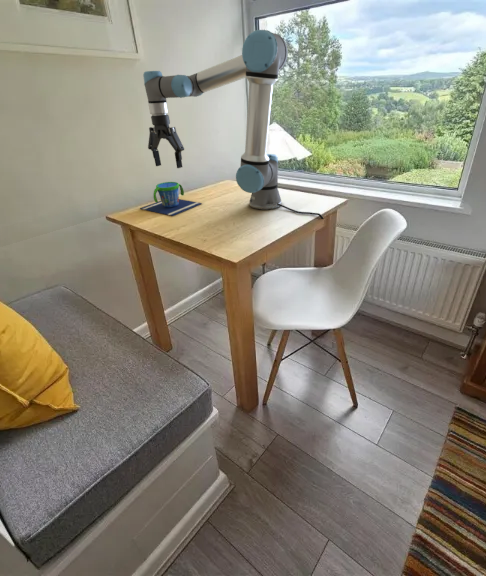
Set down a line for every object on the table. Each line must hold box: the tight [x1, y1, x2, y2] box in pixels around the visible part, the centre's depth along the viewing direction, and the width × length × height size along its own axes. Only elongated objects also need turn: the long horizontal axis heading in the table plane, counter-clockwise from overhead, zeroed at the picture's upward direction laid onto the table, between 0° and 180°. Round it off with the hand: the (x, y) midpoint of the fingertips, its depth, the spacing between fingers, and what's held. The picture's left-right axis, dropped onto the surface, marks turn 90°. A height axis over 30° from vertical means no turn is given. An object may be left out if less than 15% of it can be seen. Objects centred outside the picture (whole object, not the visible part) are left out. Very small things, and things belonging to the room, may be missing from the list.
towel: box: [139, 198, 203, 217], centre depth 158 cm, size 22×20×1 cm
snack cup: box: [153, 181, 185, 208], centre depth 155 cm, size 16×10×10 cm
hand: (168, 166), depth 149 cm, fingers open, 13 cm apart
